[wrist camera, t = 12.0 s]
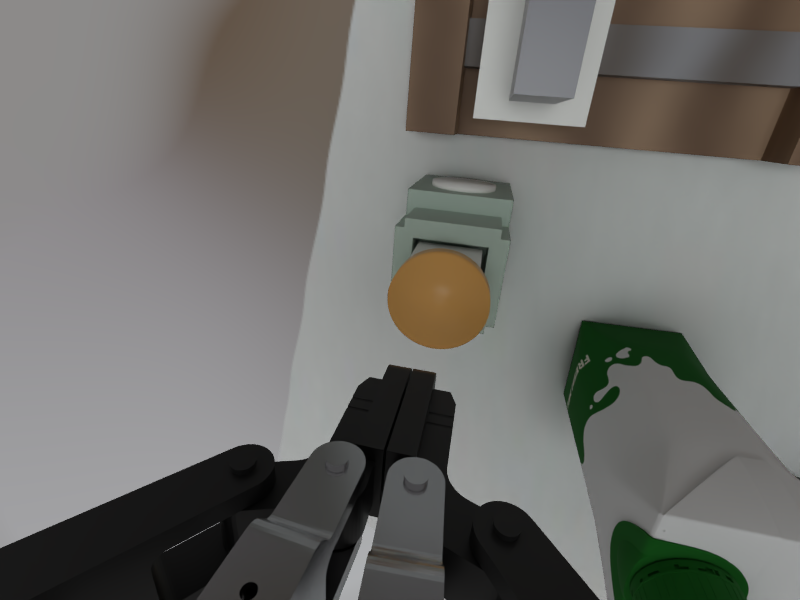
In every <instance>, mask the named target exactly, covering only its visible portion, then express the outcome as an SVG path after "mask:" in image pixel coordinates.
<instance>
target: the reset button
mask: <svg viewBox="0 0 800 600" xmlns="http://www.w3.org/2000/svg"><path fill="white" fill-rule="evenodd" d="M481 260H482V250H480V249H473V248H465V247H458V246H450V245H443V244H435V243H427V242H420V241H419V243H418V244H417V246H416V248H415V249H414V251H413V252H412V254H411V256H410V257H409V259H407V260H406V261H405V262H404V263H403V264H402V266H401V267H400V268H399V270H398V271H397V273H396V274H395V276H394V278H393V279H392V281H391V284H390V287H389V290H388V308H389V312H390V315H391V317H392V320H393V321H394V323H395V325H396V326H397V327H398V329H399V330H400V331H401V332H402V333H403V334H404V335H405V336H406V337H408V338H409V339H410V340H412V341H414V342H416V343H418V344H420V345H422V346H425V347H429V348H435V349H449V348H454V347H458V346H461V345H463V344H465V343H467V342H469V341H470V340H472V339H473V338H475V337H476V336H477V335H478V334H479V333H480V331H481V330H482V329H483V327H484V326H485V324H486V322H487V319H488V316H489V312H490V298H491V297H490V287H489V283H488V280H487V278H486V276H485V274H484V272H483V271H482V269H481Z"/></svg>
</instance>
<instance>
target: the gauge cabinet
mask: <svg viewBox="0 0 800 600" xmlns="http://www.w3.org/2000/svg"><path fill="white" fill-rule="evenodd" d="M513 202H514V200H513V195H512V191H511V187H510V184H509V183H500V182H490V181H482V180H476V179H468V178H457V177H443V176H433V175H425V176H424V177H423V178H422V179H420V180H419V181H418V182H416V183H415V184H414V185H413V186H411V187H410V188H409V189H408V198H407V211H406V215H405V216H404V217H403V218H402V219H401V221H400V222H399V223H398V224H397V225H396V226H395V235H394V249H393V263H392V277H391V281H392V279H393V278H394V276H395V274H396V273H397V271H398V270H399V268H400V267H401V266H402V264H403V263H404V262H405V261H406V260H407V259H409V257H410V256H411V254H412V252H413V251H414V249H415V248H416V246H417V244H418V243H419V241H420V242H427V243H435V244H443V245H450V246H458V247H465V248H473V249H480V250H482V260H481V269H482V271H483V272H484V274H485V276H486V278H487V280H488V283H489V287H490V297H491V298H490V312H489V316H488V319H487V322H486V324H485V326H486V327H492V328H494V324H495V319H496V314H497V309H498V303H499V298H500V293H501V288H502V283H503V278H504V272H505V267H506V262H507V257H508V252H509V246H510V241H511V240H510V233H509V223H510V218H511V213H512V207H513ZM485 326H484V327H483V329H482V330H481V331H480V334H483V333H484V328H485Z"/></svg>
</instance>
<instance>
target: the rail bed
mask: <svg viewBox="0 0 800 600" xmlns="http://www.w3.org/2000/svg"><path fill="white" fill-rule="evenodd" d="M488 3H489V0H415V13H414V26H413V40H412V53H411V66H410V80H409V93H408V107H407V120H406V131H417V132H428V133H439V134H450V135H455V134H466V135H478V136H489V137H500V138H512V139H523V140H534V141H546V142H557V143H568V144H580V145H591V146H602V147H613V148H625V149H636V150H647V151H659V152H670V153H681V154H693V155H704V156H715V157H727V158H738V159H749V160H761V161H768V162H774V163H781V164H788V165H799V166H800V0H616V1H615V6H614V10H613V14H612V18H611V22H610V26H609V30H608V35H607V39H606V43H605V47H604V51H603V55H602V59H601V63H600V68H599V72H598V76H597V80H596V84H595V88H594V92H593V97H592V101H591V105H590V109H589V113H588V117H587V121H586V125H585V127H574V126H562V125H549V124H537V123H525V122H513V121H500V120H488V119H476V118H473V114H474V106H475V99H476V92H477V84H478V77H479V70H480V62H481V55H482V48H483V40H484V33H485V25H486V18H487V11H488Z"/></svg>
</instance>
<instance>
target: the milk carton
mask: <svg viewBox="0 0 800 600" xmlns="http://www.w3.org/2000/svg"><path fill="white" fill-rule="evenodd" d="M564 396H565V401H566V405H567V410H568V414H569V418H570V422H571V426H572V430H573V434H574V438H575V442H576V446H577V450H578V454H579V458H580V462H581V466H582V470H583V474H584V478H585V482H586V486H587V490H588V494H589V498H590V502H591V506H592V510H593V515H594V519H595V524H596V530H597V536H598V542H599V548H600V554H601V560H602V567H603V573H604V579H605V586H606V592H607V599H608V600H800V480H799V479H797V478H796V477H795V476H794V475H793V474H791V473H790V472H789V471H788V470H787V468H786V467H785V466H784V465H783V464H782V463H781V461H780V460H779V459H778V458H777V457H776V456H775V454H774V453H773V452H772V451H771V450H770V448H769V447H768V446H767V445H766V444H765V443H764V441H763V440H762V439H761V438H760V437H759V435H758V434H757V433H756V432H755V431H754V429H753V428H752V427H751V426H750V425H749V424H748V422H747V421H746V420H745V419H744V418H743V416H742V415H741V414H740V413H739V412H738V410H737V409H736V408H735V407H734V406H733V404H732V403H731V402H730V401H729V400H728V398H727V397H726V396H725V395H724V394H723V392H722V391H721V390H720V389H719V388H718V387H717V385H716V384H715V383H714V382H713V380H712V379H711V378H710V377H709V375H708V374H707V372H706V371H705V369H704V367H703V366H702V364H701V363H700V361H699V360H698V358H697V357H696V355H695V353H694V352H693V350H692V349H691V347H690V346H689V344H688V343H687V341H686V340H685V338H684V336H683V335H682V333H674V332H666V331H658V330H651V329H643V328H635V327H627V326H619V325H611V324H603V323H596V322H588V321H582V323H581V327H580V331H579V335H578V339H577V343H576V347H575V351H574V355H573V359H572V363H571V367H570V371H569V375H568V378H567V382H566V386H565V390H564Z"/></svg>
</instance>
